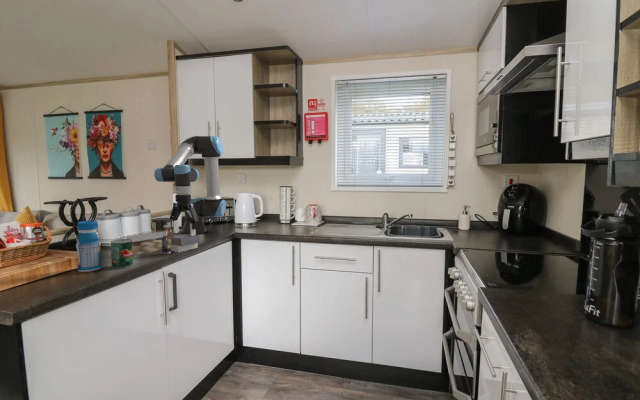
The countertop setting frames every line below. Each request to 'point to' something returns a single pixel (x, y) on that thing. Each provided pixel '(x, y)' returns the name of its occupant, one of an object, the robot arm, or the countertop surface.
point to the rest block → (183, 247)
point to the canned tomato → (121, 253)
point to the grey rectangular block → (183, 240)
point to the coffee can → (160, 226)
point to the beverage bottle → (88, 246)
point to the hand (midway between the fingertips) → (184, 234)
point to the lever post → (164, 247)
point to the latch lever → (148, 236)
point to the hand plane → (150, 245)
